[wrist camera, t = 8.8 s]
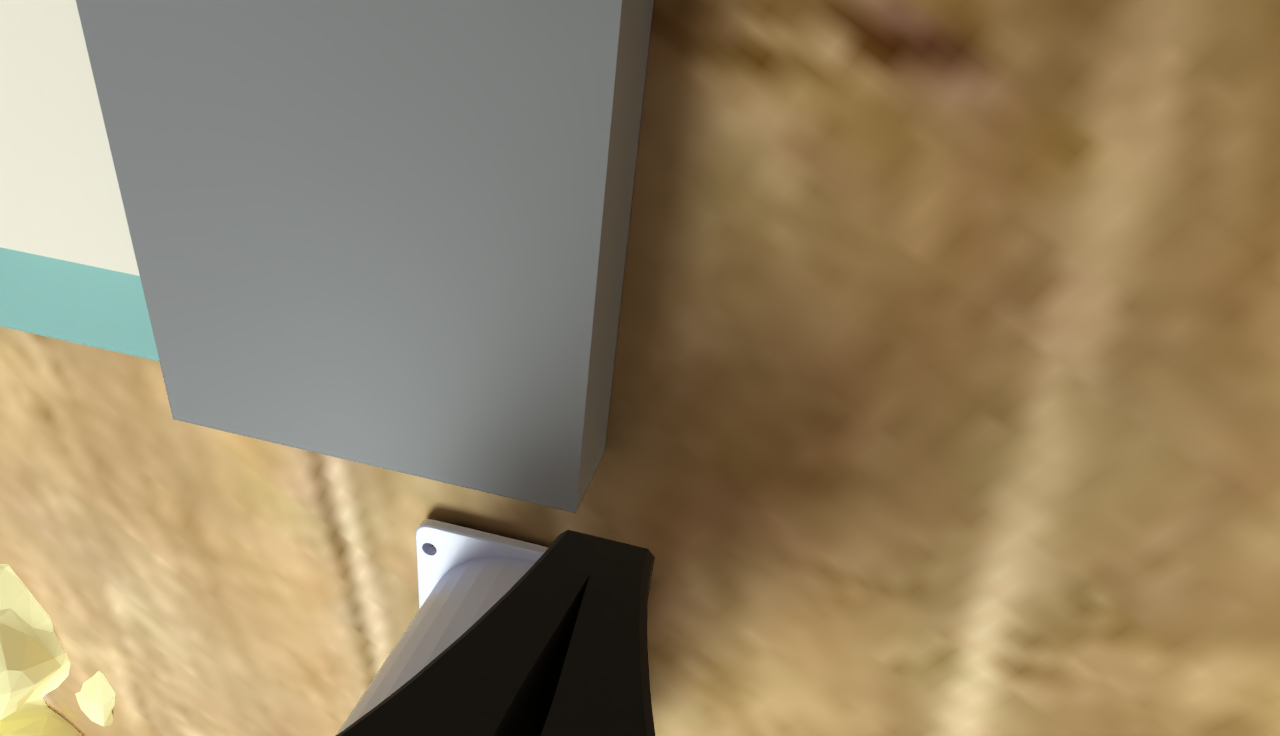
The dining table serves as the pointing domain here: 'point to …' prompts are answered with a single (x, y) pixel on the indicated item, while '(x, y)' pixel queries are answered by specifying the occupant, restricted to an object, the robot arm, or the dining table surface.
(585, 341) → the riser
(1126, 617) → the dining table surface
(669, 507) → the dining table surface
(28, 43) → the coaster
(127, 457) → the dining table surface
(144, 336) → the drip mat
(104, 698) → the cloth
